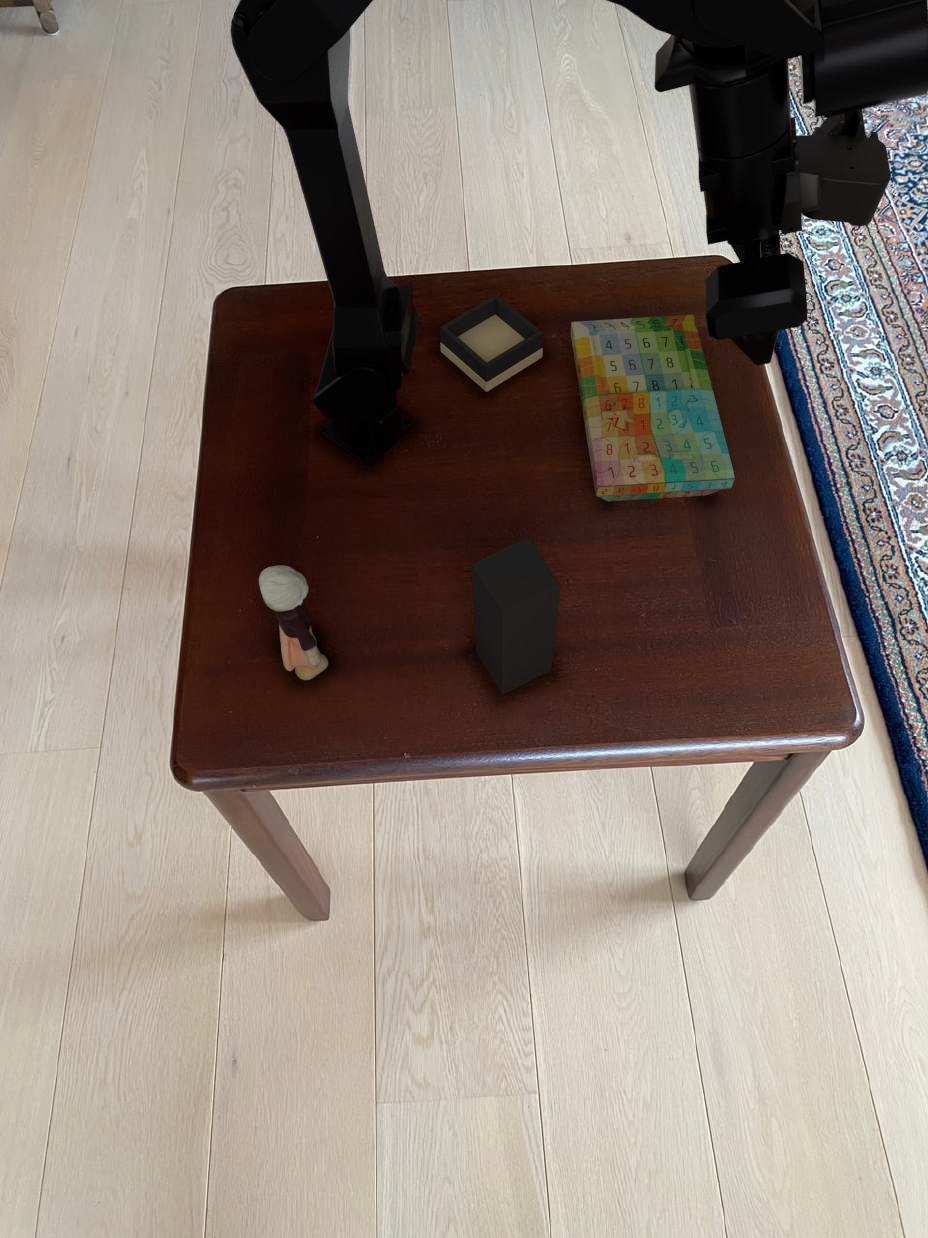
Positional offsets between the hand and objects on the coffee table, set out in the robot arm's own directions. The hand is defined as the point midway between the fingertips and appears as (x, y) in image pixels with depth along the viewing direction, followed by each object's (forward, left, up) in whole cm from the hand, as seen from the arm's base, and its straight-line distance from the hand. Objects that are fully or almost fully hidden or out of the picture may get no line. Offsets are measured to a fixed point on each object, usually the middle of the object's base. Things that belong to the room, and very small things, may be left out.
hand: (760, 319), depth 70 cm
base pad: (-24, -3, -16) cm, 29 cm away
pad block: (-1, -28, -16) cm, 33 cm away
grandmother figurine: (-14, -39, -16) cm, 44 cm away
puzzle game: (-8, -1, -16) cm, 18 cm away
